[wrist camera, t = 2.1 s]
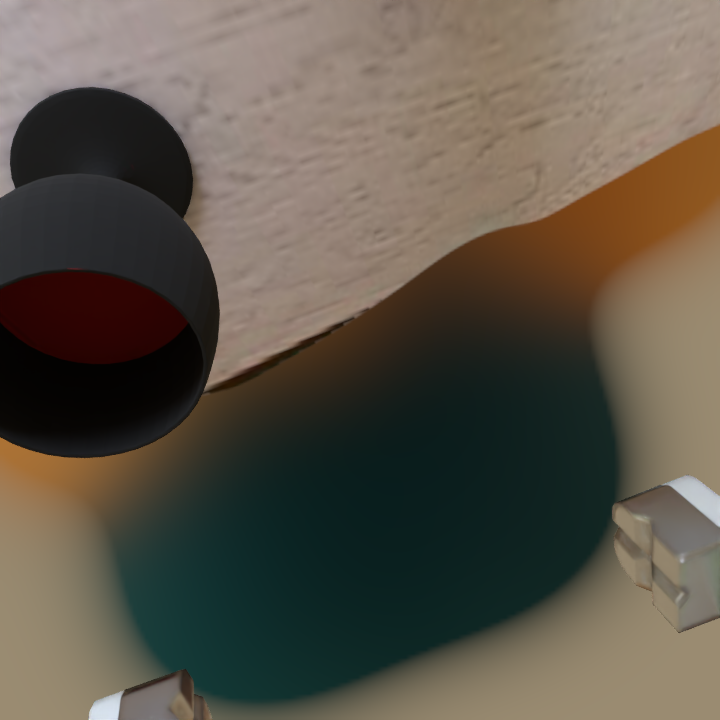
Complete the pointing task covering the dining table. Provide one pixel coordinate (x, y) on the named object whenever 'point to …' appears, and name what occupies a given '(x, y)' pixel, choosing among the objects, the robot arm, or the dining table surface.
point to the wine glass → (100, 280)
